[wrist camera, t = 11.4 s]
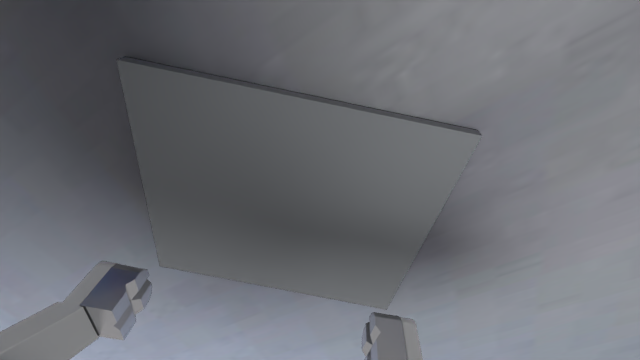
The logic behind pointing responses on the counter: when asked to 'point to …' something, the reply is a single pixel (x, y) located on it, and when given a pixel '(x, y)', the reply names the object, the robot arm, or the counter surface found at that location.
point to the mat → (287, 182)
